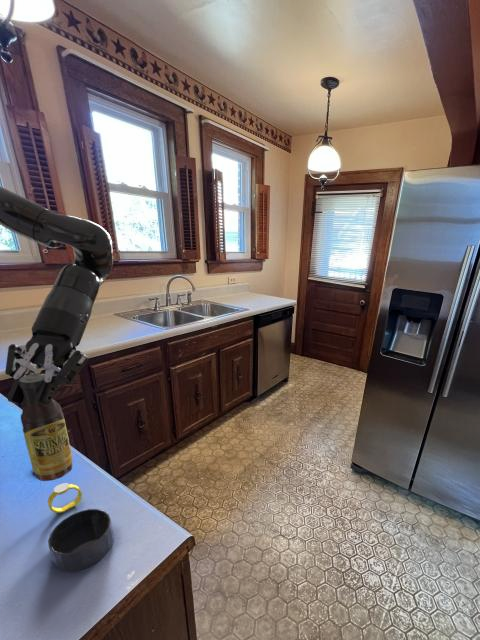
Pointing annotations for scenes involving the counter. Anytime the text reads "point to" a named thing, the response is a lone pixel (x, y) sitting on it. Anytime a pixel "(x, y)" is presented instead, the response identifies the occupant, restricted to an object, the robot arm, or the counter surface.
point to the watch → (60, 490)
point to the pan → (81, 540)
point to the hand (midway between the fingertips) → (27, 403)
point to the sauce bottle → (44, 433)
